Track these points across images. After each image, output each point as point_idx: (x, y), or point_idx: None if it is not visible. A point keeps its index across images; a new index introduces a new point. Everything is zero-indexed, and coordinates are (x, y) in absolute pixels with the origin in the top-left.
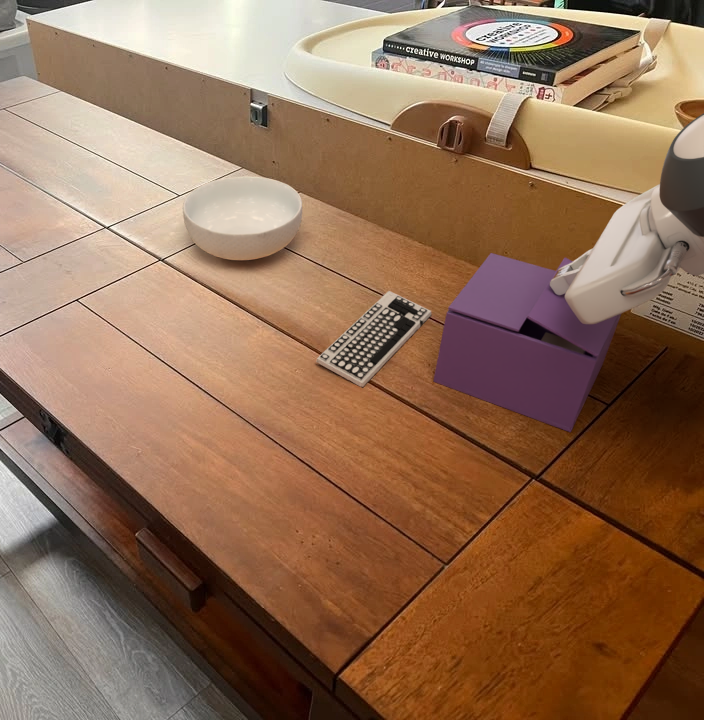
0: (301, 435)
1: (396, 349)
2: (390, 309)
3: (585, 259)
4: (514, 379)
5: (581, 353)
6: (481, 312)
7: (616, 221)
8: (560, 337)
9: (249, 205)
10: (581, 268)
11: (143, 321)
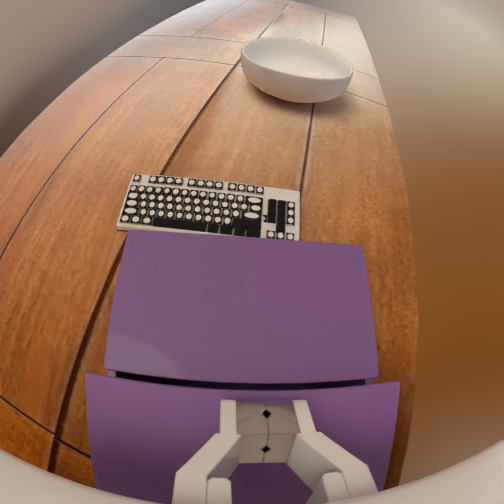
0: (43, 211)
1: None
2: (265, 204)
3: (326, 468)
4: None
5: None
6: (132, 286)
7: (486, 487)
8: None
9: (329, 74)
10: (85, 495)
11: (154, 81)
